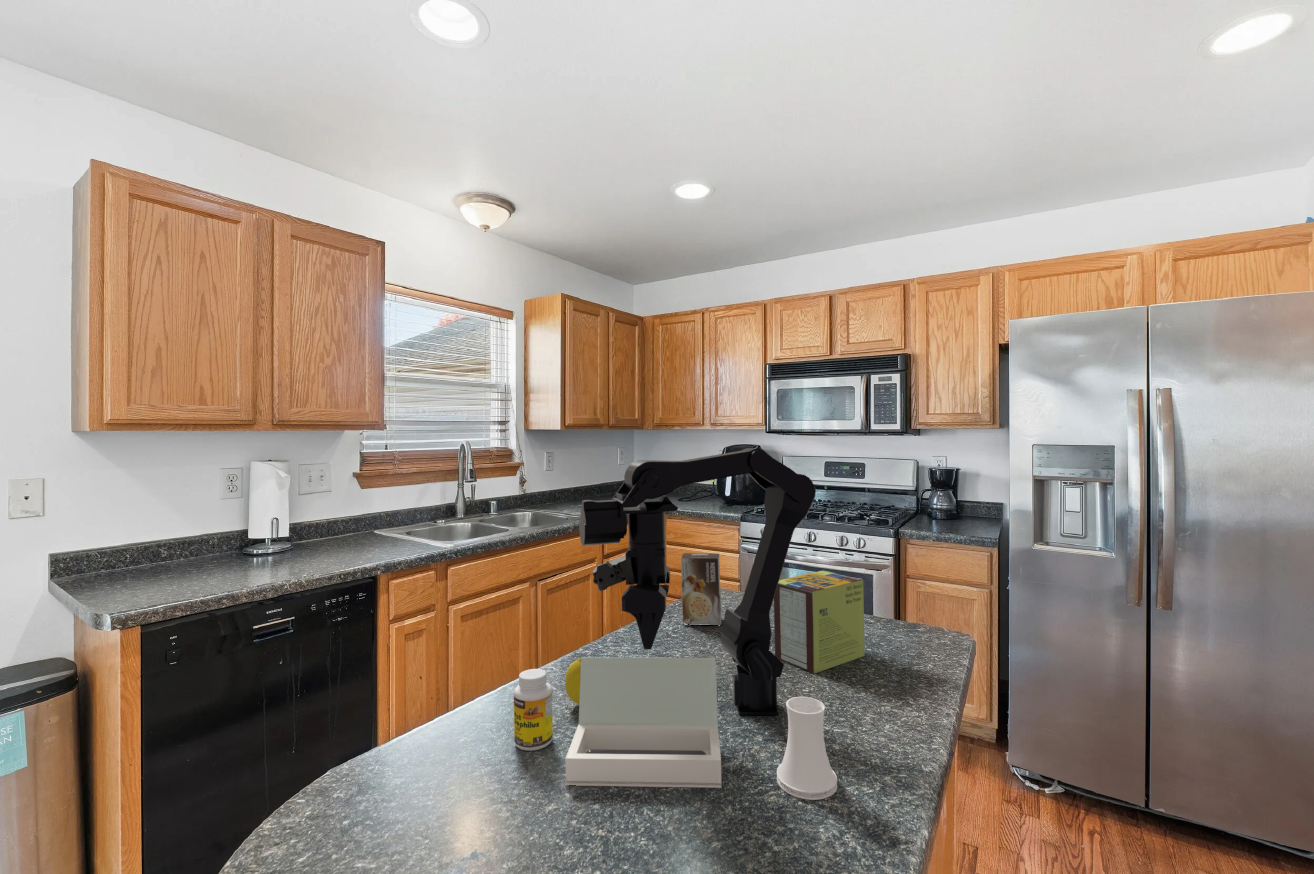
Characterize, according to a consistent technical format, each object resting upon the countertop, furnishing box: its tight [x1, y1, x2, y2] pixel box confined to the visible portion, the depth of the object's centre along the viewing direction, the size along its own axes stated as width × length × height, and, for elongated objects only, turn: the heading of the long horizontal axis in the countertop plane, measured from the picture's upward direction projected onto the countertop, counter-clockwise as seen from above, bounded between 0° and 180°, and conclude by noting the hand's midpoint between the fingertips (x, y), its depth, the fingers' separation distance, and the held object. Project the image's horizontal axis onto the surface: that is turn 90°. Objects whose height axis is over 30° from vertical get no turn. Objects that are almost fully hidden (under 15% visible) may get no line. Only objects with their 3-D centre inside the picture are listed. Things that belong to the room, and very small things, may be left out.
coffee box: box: [680, 552, 722, 626], centre depth 142 cm, size 9×6×16 cm
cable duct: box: [565, 723, 722, 789], centre depth 80 cm, size 20×9×4 cm, turn 87°
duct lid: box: [578, 656, 719, 725], centre depth 87 cm, size 20×9×1 cm
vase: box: [776, 696, 838, 801], centre depth 76 cm, size 8×8×10 cm
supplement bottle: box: [513, 668, 554, 752], centre depth 87 cm, size 6×6×10 cm
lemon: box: [564, 657, 582, 705], centre depth 99 cm, size 6×6×8 cm
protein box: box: [773, 570, 866, 675], centre depth 118 cm, size 10×15×16 cm
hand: (649, 640), depth 92 cm, fingers open, 7 cm apart
